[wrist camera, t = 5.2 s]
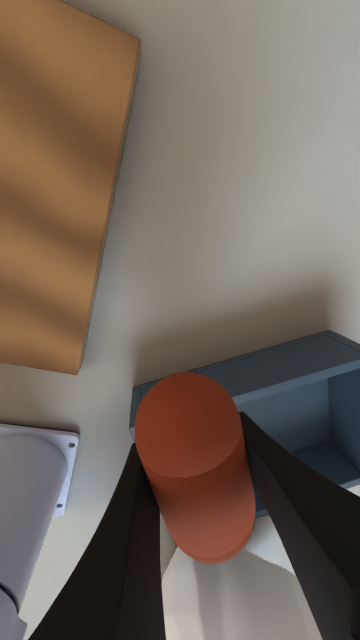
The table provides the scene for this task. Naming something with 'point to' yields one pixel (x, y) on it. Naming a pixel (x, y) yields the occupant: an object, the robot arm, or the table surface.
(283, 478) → the robot arm
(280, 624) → the decorative rooster
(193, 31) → the table surface
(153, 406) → the sweet potato
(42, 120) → the oak board
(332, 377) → the low basket
